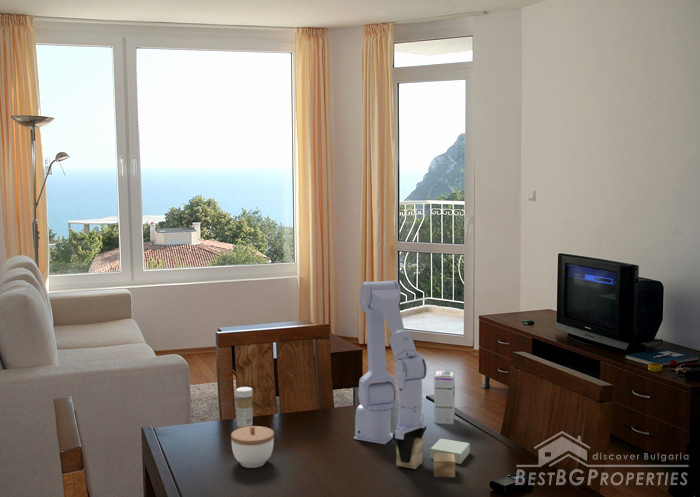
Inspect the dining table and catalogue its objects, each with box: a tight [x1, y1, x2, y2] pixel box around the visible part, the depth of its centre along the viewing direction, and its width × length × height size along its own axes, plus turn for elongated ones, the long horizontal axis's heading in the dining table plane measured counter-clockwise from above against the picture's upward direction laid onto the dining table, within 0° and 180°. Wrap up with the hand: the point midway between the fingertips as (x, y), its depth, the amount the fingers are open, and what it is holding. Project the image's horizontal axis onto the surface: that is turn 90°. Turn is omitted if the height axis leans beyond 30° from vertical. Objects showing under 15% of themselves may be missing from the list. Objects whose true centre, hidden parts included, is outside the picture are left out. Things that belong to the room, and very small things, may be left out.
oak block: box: [433, 453, 456, 478], centre depth 168 cm, size 5×5×4 cm
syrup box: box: [433, 370, 456, 425], centre depth 205 cm, size 6×6×14 cm
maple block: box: [395, 437, 424, 470], centre depth 172 cm, size 5×5×6 cm
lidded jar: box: [230, 425, 275, 469], centre depth 173 cm, size 11×11×9 cm
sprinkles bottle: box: [235, 386, 254, 430], centre depth 192 cm, size 5×5×13 cm
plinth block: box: [430, 438, 471, 465], centre depth 179 cm, size 8×8×3 cm
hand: (409, 457), depth 172 cm, fingers closed on maple block, 5 cm apart
